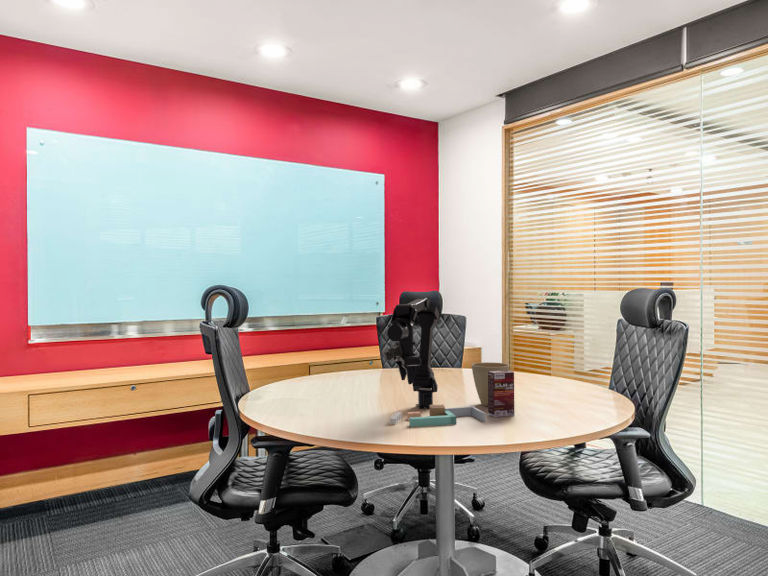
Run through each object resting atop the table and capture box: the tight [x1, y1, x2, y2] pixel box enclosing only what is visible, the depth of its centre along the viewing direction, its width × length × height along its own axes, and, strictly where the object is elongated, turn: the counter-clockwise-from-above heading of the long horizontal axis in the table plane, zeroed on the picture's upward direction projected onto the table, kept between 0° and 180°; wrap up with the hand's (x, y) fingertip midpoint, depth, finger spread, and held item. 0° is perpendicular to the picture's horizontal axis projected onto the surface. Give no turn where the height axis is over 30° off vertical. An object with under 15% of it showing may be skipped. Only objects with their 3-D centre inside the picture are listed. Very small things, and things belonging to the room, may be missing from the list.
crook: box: [408, 411, 457, 428], centre depth 188 cm, size 9×16×3 cm, turn 100°
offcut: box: [406, 411, 422, 420], centre depth 193 cm, size 2×4×2 cm, turn 102°
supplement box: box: [487, 370, 515, 418], centre depth 197 cm, size 9×5×16 cm, turn 106°
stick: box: [388, 411, 403, 425], centre depth 191 cm, size 2×10×2 cm, turn 165°
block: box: [428, 404, 446, 416], centre depth 191 cm, size 5×5×5 cm
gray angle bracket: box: [445, 405, 486, 422], centre depth 192 cm, size 12×12×3 cm
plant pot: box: [471, 362, 510, 407], centre depth 215 cm, size 15×15×16 cm
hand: (406, 382), depth 195 cm, fingers open, 9 cm apart
